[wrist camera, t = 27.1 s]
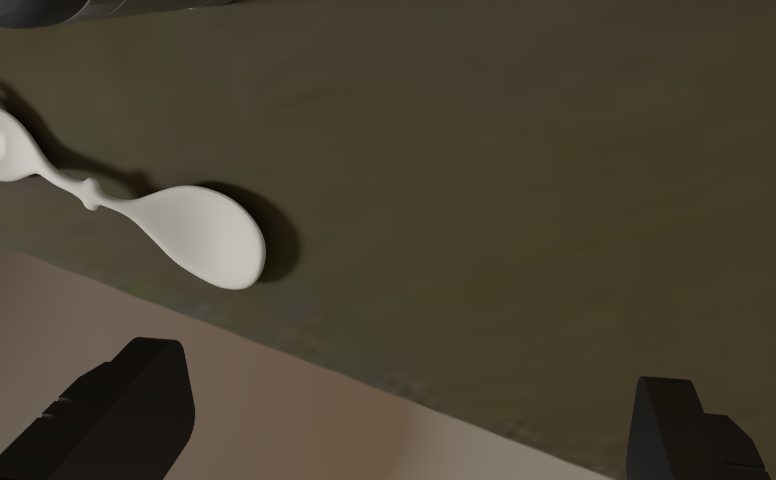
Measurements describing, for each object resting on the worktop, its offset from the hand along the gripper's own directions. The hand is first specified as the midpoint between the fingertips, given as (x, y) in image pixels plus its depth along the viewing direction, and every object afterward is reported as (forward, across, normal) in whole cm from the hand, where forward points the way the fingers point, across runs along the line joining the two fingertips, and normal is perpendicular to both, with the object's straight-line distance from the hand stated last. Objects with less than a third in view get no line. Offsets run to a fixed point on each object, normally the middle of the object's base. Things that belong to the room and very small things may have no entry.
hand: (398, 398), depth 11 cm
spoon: (+42, -33, -12) cm, 55 cm away
